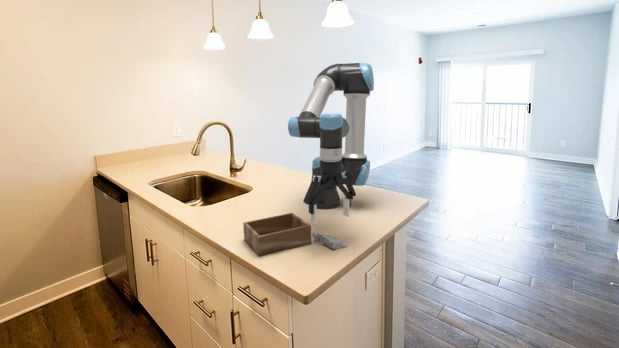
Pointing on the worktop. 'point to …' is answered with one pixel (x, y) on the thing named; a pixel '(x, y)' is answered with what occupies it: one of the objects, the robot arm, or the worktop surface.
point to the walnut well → (277, 234)
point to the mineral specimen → (328, 241)
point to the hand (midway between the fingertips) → (330, 218)
